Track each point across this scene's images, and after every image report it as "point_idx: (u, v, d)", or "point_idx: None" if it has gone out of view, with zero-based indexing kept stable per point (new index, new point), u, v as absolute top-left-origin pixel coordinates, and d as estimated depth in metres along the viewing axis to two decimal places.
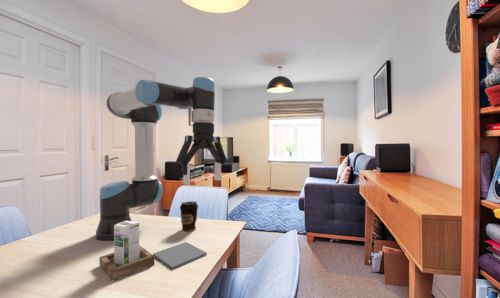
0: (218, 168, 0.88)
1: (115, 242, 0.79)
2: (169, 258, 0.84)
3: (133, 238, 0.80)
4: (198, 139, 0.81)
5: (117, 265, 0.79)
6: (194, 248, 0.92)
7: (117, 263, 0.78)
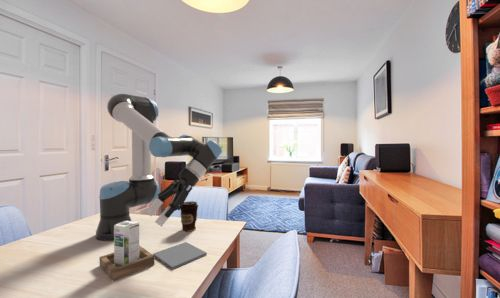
0: (158, 206, 0.92)
1: (115, 242, 0.79)
2: (169, 258, 0.84)
3: (133, 238, 0.80)
4: None
5: (117, 265, 0.79)
6: (194, 248, 0.92)
7: (117, 263, 0.78)
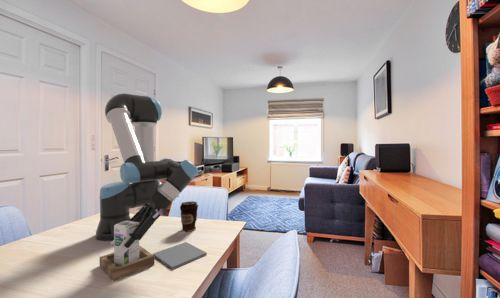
0: None
1: (115, 242, 0.79)
2: (169, 258, 0.84)
3: None
4: None
5: (117, 265, 0.79)
6: (194, 248, 0.92)
7: (117, 263, 0.78)
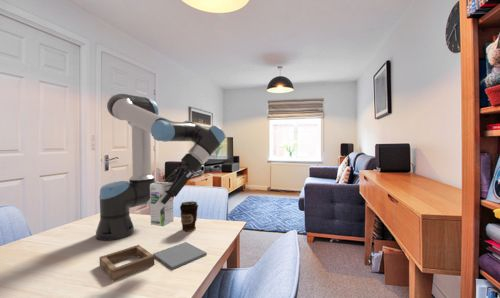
0: None
1: (151, 200, 0.82)
2: (169, 258, 0.84)
3: None
4: None
5: (154, 222, 0.82)
6: (194, 248, 0.92)
7: (154, 220, 0.82)
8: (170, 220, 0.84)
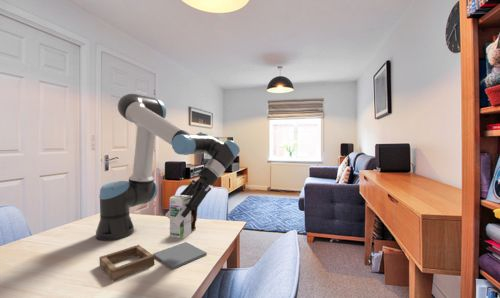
0: None
1: (171, 213, 0.85)
2: (169, 258, 0.84)
3: None
4: None
5: (173, 234, 0.85)
6: (194, 248, 0.92)
7: (173, 232, 0.85)
8: (189, 232, 0.88)
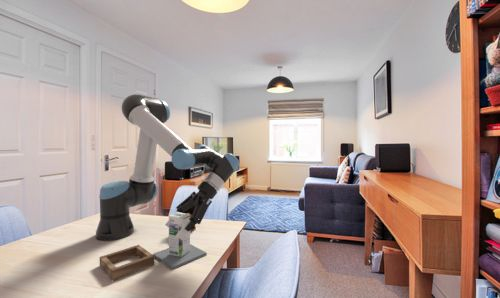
0: None
1: (170, 231, 0.86)
2: (169, 258, 0.84)
3: None
4: None
5: (172, 252, 0.86)
6: (194, 248, 0.92)
7: (172, 250, 0.86)
8: (187, 250, 0.88)
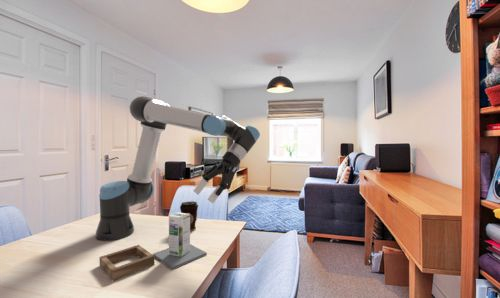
0: (204, 185, 1.01)
1: (170, 231, 0.86)
2: (169, 258, 0.84)
3: (185, 228, 0.87)
4: None
5: (172, 252, 0.86)
6: (194, 248, 0.92)
7: (172, 250, 0.86)
8: (187, 250, 0.88)
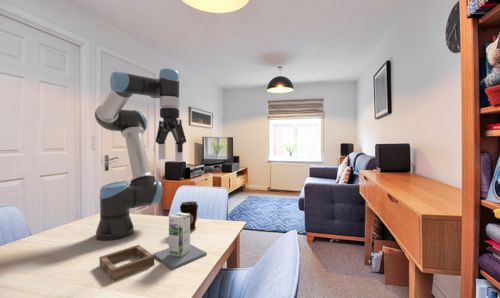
0: (164, 148, 1.02)
1: (170, 231, 0.86)
2: (169, 258, 0.84)
3: (185, 228, 0.87)
4: None
5: (172, 252, 0.86)
6: (194, 248, 0.92)
7: (172, 250, 0.86)
8: (187, 250, 0.88)
